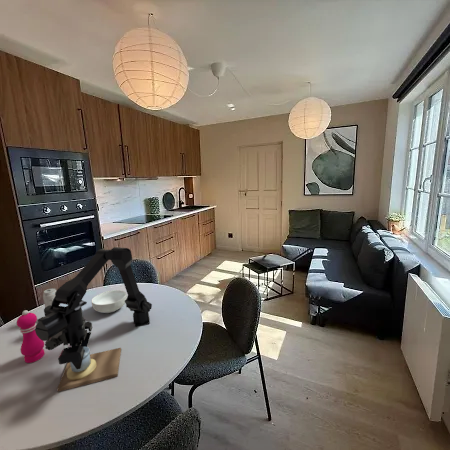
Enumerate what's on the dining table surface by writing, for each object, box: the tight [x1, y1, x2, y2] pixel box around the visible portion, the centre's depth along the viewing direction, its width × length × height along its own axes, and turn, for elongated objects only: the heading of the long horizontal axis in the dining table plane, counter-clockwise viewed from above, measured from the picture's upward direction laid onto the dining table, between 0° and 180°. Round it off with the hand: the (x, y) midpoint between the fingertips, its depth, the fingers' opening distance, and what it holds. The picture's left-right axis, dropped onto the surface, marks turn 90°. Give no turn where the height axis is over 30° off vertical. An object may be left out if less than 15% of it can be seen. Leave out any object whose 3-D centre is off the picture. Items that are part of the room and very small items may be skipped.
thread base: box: [56, 347, 122, 392], centre depth 89 cm, size 18×14×2 cm
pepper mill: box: [16, 310, 46, 364], centre depth 94 cm, size 7×7×20 cm
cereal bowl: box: [91, 289, 128, 314], centre depth 130 cm, size 17×17×7 cm
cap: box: [70, 346, 91, 372], centre depth 86 cm, size 6×6×5 cm
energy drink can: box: [42, 288, 57, 309], centre depth 122 cm, size 6×6×15 cm
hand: (80, 362), depth 86 cm, fingers closed on cap, 6 cm apart
